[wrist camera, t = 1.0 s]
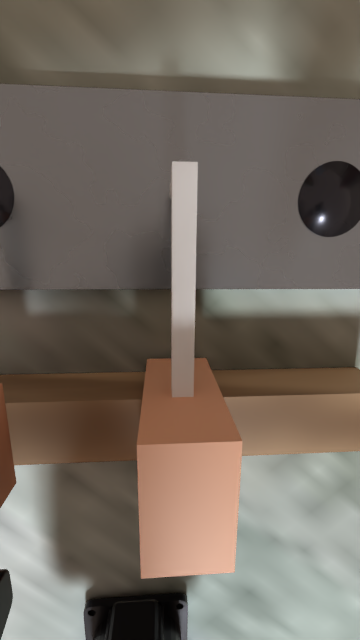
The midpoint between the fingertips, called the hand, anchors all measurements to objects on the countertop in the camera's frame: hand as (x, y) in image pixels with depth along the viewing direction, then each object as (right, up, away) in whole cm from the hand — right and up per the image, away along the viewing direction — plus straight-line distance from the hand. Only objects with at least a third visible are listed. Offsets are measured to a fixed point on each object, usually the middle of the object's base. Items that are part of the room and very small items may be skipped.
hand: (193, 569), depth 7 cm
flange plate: (0, +12, +6) cm, 13 cm away
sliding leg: (-1, +6, +7) cm, 9 cm away
